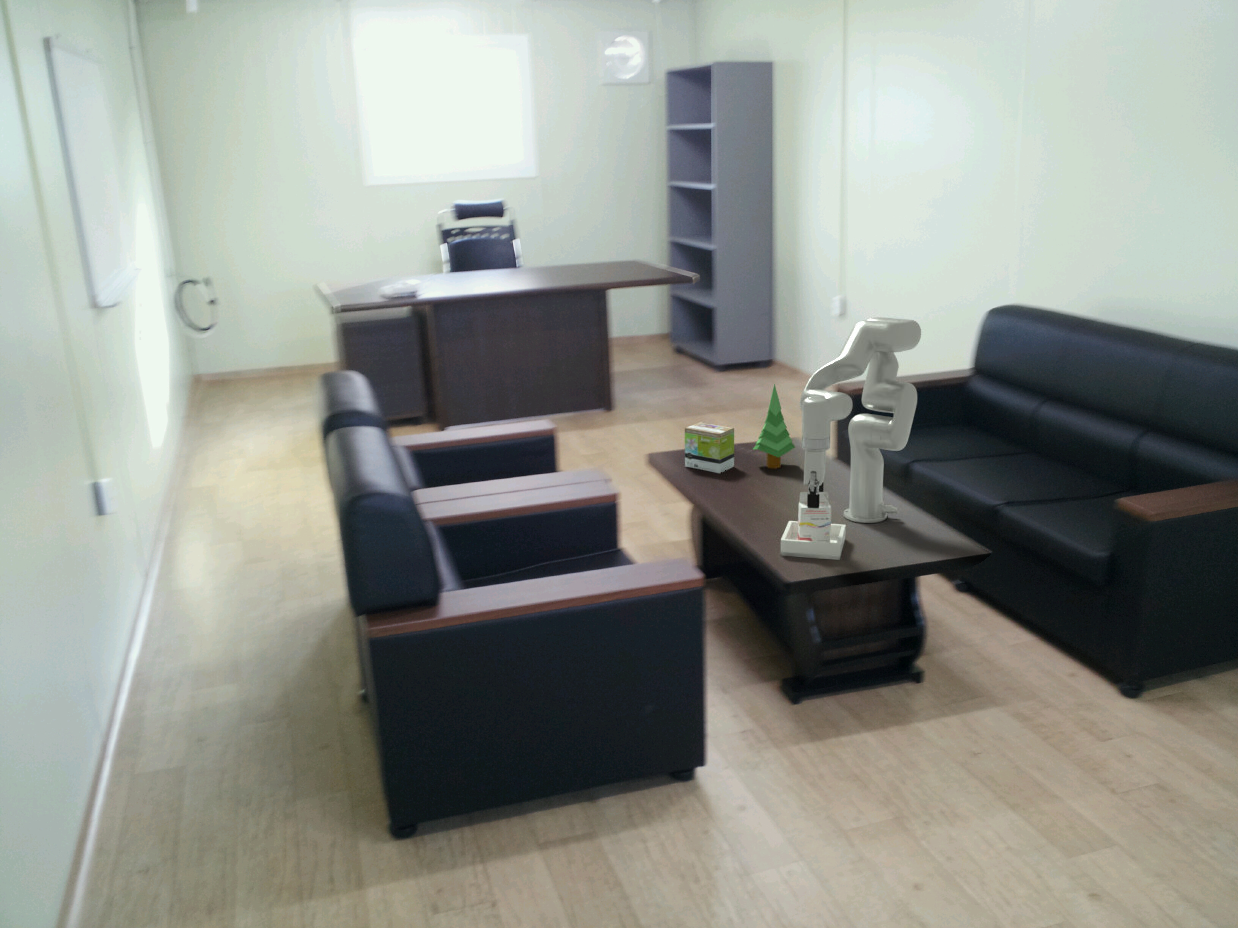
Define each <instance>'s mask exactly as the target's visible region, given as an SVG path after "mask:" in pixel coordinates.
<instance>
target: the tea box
mask: <svg viewBox="0 0 1238 928" xmlns="http://www.w3.org/2000/svg"><path fill="white" fill-rule="evenodd" d="M684 467H685V468H692V469H697V470H701V471H702V470H703V471H707V472H711V473H716V474H721V472H722V473H724V472H726V471H728V470H730V469H732V468H733V467H735V427H730V426H725V425H724V426H723V425H719V424H718V425H717V424H713V423H707V422H700V421H699V422H697V423H695V424H692V425H690V426H687V427H684ZM725 470H726V471H725Z"/></svg>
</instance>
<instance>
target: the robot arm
mask: <svg viewBox="0 0 1238 928" xmlns="http://www.w3.org/2000/svg"><path fill="white" fill-rule="evenodd" d="M921 337H922V328H921V325H920V324H919V323H918V322H917V321H916V320H913V319H907V318H906V319H905V318H893V317H881V316H880V317H878V316H877V317H876V316H875V317H871V318H870V317H869V318H868V319H866V320H861V321H858V322H856V323H855V324H854V326H853V328H852V329H851V331H850V333H849V335H848V337H847V338H846V341H845V342H844V345H843V346H842V349H841V350H840V352H839V353H838V356H837V358H835V359H834V360H832V361H830V362H827V364H825V365H823V366H822V367H821V368H820V369H818V370H817V371H815V372H814V373H813V374H812V375H811V376H810V377H809V379H808V381H807V383H806V385H805V387H804V388H803V391H802V394H801V395H800V399H799V409H800V410H801V418H802V419H801V423H802V424H801V428H802V430H801V448H802V449H803V450H805V452H804V466H803V467H804V468H803V470H804V471H803V485H804V486H807V492H808V494H807V507H808V508H819V496H820V494H818V493H819V492H824V484H825V483H824V479H825V475H826V457H827V456H826V455H827V451H828V450H830V448H831V423H832V422H834V421H835V422H836V421H841V420H844V419H846V418H847V417H848V416H849V415H850V414H851V412H852V409H853V405H854V404H853V400H852V397H850V395H848V394H847V393H844V392H840V391H832V390H826V389H827V388H829V387H830V386H832V385H835V384H837V383H840V382H846V381H849V380H853V379H856V378H858V377H860V376H862V375H864V374H865V371H866V370H867V373H866V376H865V377H866V378H865V380H864V381H865V382H864V385H863V390H862V394H861V404H862V406H863V407H864V408H865V409H867V410H870V411H874V412H881V413H889V414H893V416H892V417H891V416H886V415H885V416H884V415H881V414H880V415H878V414H870V413H859V414H856V415H854V416H853V417H852V418H851V419H850V421H849V423H848V427H847V428H848V429H847V430H848V432H847V433H848V438H849V445H850V473H849V475H850V476H849V477H850V479H849V480H850V481H849V504H848V505H849V506H848V508H846V509H844V510H843V516H844V518H846V520H849V521H852V522H856V523H864V524H873V523H880V522H883V521H885V520H886V519H887V518H888V517H887V516H888V514H891V515H897V514H898V507H894V505H890V504H889V505H886V504H884V500H883V489H884V488H883V486H884V466H885V465H884V464H885V463H884V457H883V455H882V452H881V450H886V451H892V452H893V451H895V452H898V451H901V450H903V449H905V447H906V445H907V443H908V441H909V437H910V434H911V429H912V425H913V422H914V417H915V413H916V409H917V405H918V392H917V388H916V387H915V386H914V384H912V383H911V382H907V381H899V380H897V377H898V376H897V375H898V372H899V366H900V365H899V361H898V358H897V356H896V354H895V353H901V352H907V351H909V350H913V349H914V348H916V347H917V346H918V345H919V342H920V340H921ZM867 368H868V369H867Z"/></svg>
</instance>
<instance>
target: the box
mask: <svg viewBox="0 0 1238 928" xmlns="http://www.w3.org/2000/svg"><path fill="white" fill-rule="evenodd" d="M846 526H847V525H846V524H840V523H831V534H830V542H818V541H805V540H798V520H796V521H795V520H788V522H787V524H786V527H785V530H784V532H783V534H782V536H781V538H780V556H783V557H798V558H811V559H821V560H823V559H824V560H836V561H840V560H841V556H842V552H843V549H844V546H845V541H846V531H847V530H846Z"/></svg>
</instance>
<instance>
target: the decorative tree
mask: <svg viewBox="0 0 1238 928" xmlns="http://www.w3.org/2000/svg"><path fill="white" fill-rule="evenodd" d="M772 387H773V389H772V392H771V397H770V401H769V405H768V409H767V415H766V417H765V421H764V425H763V427H762V429H761V432H760V434H759V436H758V439H757V441H756V442H755V446H754V447H753V448H752V450H753V451H755V450H758V451H761V452H763V453H766V466H767V468H768V469H778V468H781V458H782V456H783V455H785V454H787V453H788V452H790V451H791V450H793V449H795V448H796V446H795V444H793V439H792V438H791V437H790V432H789V430H788V429H787V425H786V423H785V421H784V420H785V419H784V416H783V413H782V407H781V403H780V398H779V395H778V391H777V387H776V384H775V383H774V384H773V386H772Z"/></svg>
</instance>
